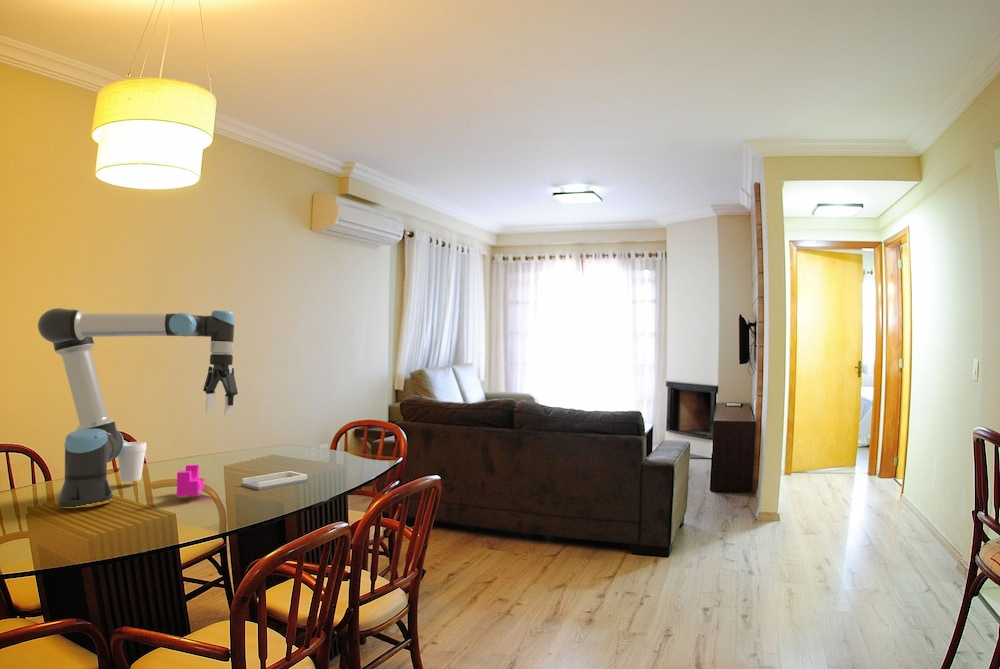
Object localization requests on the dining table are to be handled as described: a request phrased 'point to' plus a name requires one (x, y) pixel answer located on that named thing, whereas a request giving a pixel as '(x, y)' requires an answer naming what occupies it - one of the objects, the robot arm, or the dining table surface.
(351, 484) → the dining table surface
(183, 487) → the toy block
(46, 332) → the robot arm
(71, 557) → the dining table surface
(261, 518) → the dining table surface
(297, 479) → the tray
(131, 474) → the foam cup
